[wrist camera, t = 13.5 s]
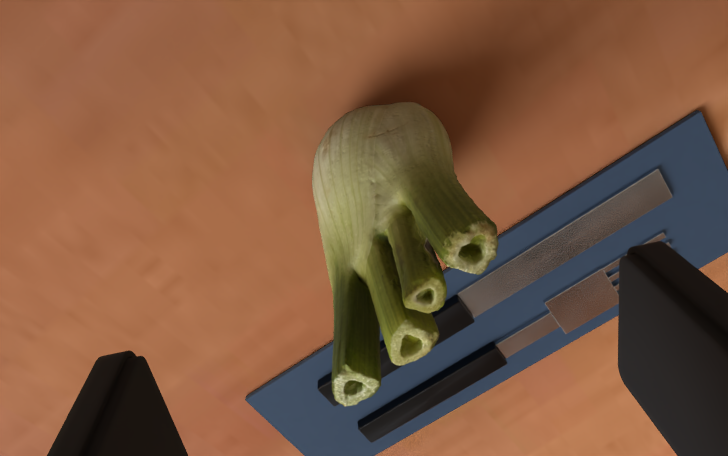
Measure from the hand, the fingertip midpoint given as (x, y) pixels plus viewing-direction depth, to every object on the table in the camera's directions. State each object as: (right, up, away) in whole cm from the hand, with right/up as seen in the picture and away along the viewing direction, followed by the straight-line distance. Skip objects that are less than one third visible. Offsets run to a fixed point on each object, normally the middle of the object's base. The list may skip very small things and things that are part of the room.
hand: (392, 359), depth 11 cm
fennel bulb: (0, +6, +13) cm, 14 cm away
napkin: (+5, -2, +16) cm, 17 cm away
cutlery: (+5, -2, +16) cm, 17 cm away
